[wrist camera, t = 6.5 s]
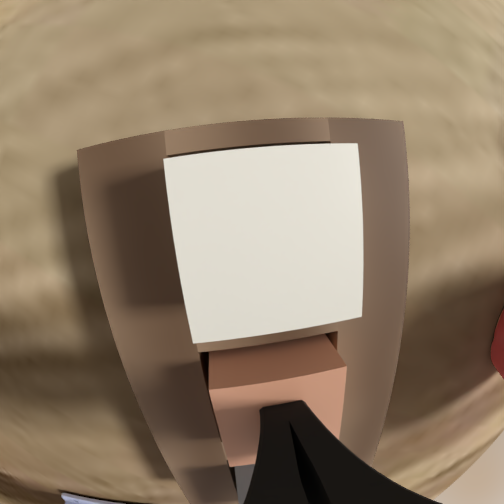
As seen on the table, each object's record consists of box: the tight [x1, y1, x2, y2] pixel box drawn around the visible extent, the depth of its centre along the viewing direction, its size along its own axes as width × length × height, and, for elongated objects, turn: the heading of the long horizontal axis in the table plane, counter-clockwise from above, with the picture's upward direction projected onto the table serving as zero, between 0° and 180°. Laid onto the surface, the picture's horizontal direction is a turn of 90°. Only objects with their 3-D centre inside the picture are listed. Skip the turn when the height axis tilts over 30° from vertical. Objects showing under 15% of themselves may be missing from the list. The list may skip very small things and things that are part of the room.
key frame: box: [77, 118, 410, 504], centre depth 11 cm, size 10×18×2 cm, turn 6°
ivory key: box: [163, 143, 363, 344], centre depth 8 cm, size 4×4×3 cm
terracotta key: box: [209, 333, 347, 467], centre depth 10 cm, size 4×4×3 cm
